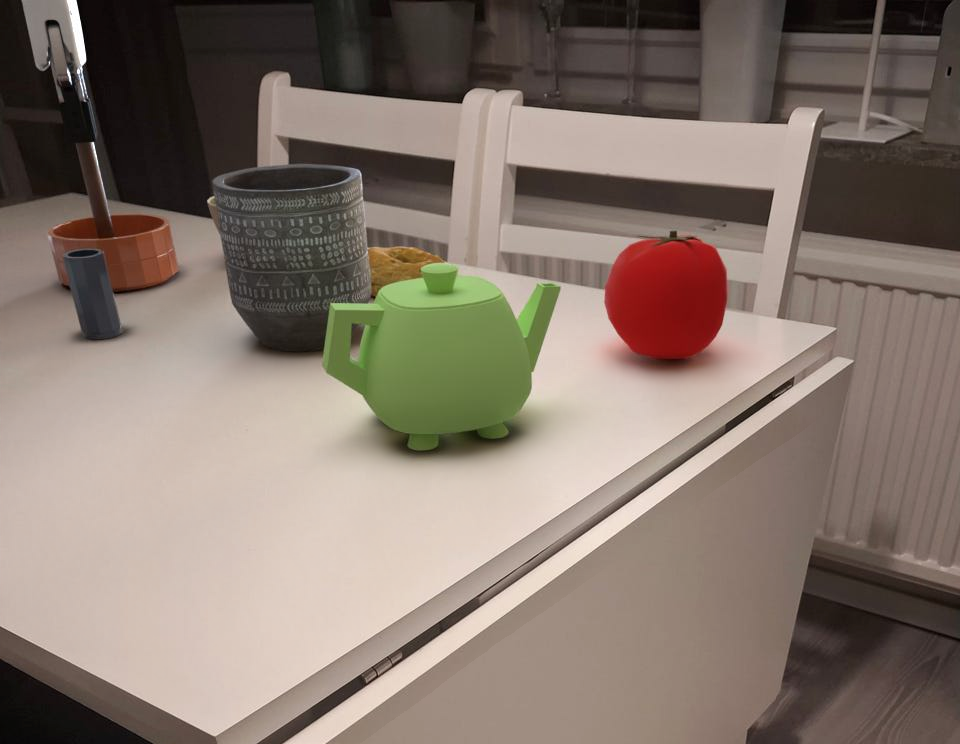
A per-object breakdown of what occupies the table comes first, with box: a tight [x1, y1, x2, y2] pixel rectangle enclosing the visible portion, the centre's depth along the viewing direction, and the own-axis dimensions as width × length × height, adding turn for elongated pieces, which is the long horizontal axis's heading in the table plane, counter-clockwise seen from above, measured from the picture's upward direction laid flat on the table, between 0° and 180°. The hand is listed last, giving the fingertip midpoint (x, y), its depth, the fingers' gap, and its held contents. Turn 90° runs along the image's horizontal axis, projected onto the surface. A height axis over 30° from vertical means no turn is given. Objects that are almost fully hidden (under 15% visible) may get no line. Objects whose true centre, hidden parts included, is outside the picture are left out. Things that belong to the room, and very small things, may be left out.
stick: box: [75, 142, 115, 239], centre depth 120 cm, size 2×2×18 cm
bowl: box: [46, 213, 179, 293], centre depth 123 cm, size 14×14×6 cm
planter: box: [211, 163, 372, 353], centre depth 100 cm, size 14×14×15 cm
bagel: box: [367, 245, 446, 298], centre depth 116 cm, size 10×11×5 cm
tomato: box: [603, 230, 729, 360], centre depth 95 cm, size 12×12×11 cm
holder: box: [62, 249, 123, 341], centre depth 105 cm, size 4×4×8 cm
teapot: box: [321, 262, 562, 451], centre depth 81 cm, size 20×13×13 cm
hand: (83, 139), depth 118 cm, fingers closed on stick, 2 cm apart
